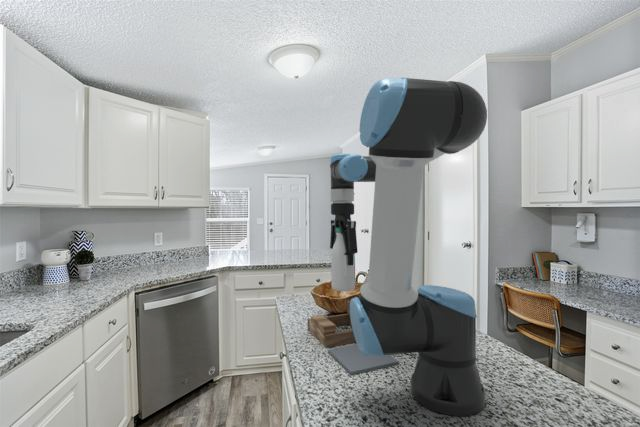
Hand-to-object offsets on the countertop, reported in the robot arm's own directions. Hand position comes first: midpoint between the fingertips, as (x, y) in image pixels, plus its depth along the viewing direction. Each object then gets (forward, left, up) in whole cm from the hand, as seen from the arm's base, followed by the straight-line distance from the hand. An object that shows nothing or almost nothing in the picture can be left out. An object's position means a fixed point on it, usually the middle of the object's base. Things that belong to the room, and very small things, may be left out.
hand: (343, 272), depth 109 cm
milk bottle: (0, 0, -5) cm, 5 cm away
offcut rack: (0, +1, -20) cm, 20 cm away
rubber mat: (-18, +3, -20) cm, 27 cm away
